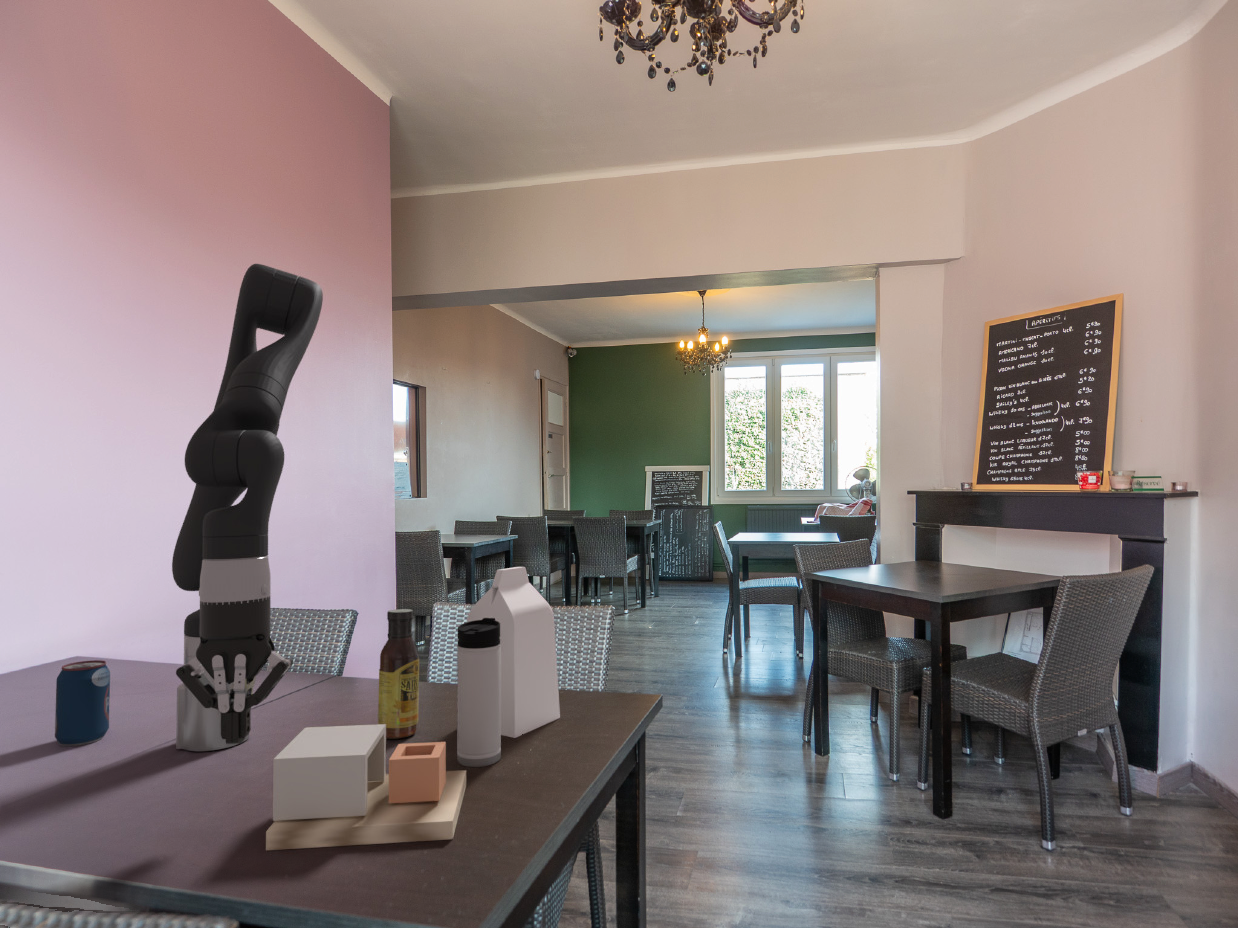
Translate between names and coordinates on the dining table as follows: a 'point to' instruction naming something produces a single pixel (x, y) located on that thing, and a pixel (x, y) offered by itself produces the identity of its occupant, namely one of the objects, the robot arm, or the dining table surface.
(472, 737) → the travel mug
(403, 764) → the ring block
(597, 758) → the dining table surface
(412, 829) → the board
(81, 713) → the soda can
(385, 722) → the sauce bottle
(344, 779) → the cover
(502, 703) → the milk
